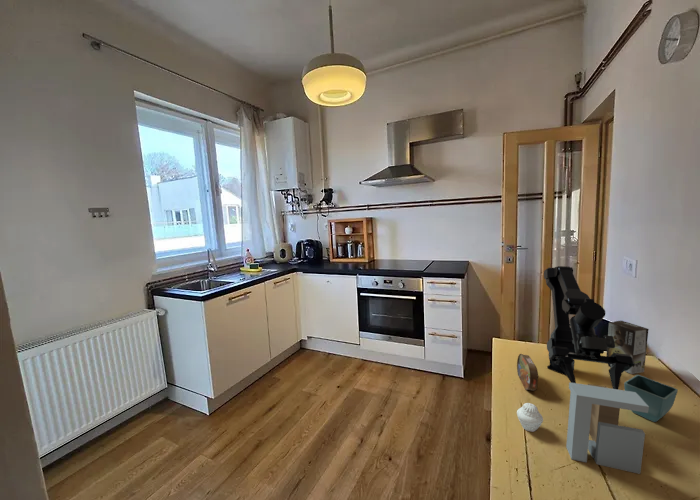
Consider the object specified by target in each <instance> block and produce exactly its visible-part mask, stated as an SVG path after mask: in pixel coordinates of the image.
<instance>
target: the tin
mask: <svg viewBox="0 0 700 500" xmlns="http://www.w3.org/2000/svg"><path fill="white" fill-rule="evenodd" d="M516 362H517V363H516V369H517V372H516V373H517V376H518V378H519V380H520V382H521V384H522V386H523V387H524V389H525V390H526V391H533V392H534V391H536V390H537V388H538V381H539V372H538V368H537V365H536V364H535V363H534V361H533V360H532V358H531V356H530V355H527V354H524V353H519V354H518V357H517V361H516Z"/></svg>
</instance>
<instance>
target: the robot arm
mask: <svg viewBox="0 0 700 500" xmlns="http://www.w3.org/2000/svg"><path fill="white" fill-rule="evenodd" d="M543 278H544V280H545V283H546V284H545V285H546V286H547V287H548V289H550V290H551V298H552V308H553V318H554V319H553V320H554V329H553V331H552V332H551V334H550V337H549V339H548V341H547V343H546V350H547V352H548V359H549V365H547V366H546V367H547V369H548V370H552V371H554V372H557V373H559V374H562V375H565V376H566V377H567V378H568V380H569V381H570V382H571V383H577V381H576V377H575V372H574V371H575V360H576V361H583V362H591V363H601V364H606V365H608V366H607V367H608V368H609V369H608V375H609V379H610V382H611V386H612V387H611V388H612V389H618V390H620V388H619V387H620V383H621V382H620V381H621V376H622V375H623V373H624V372H626V371H627V370H628V369H630V368H631V367H632V366H634V365H635V363H634V360H633V358H632V357H631V356H630V355H628V354H619V353H613V354H612V355H611V356H610V357H607V356H606V355H602V354H604V353H605V352H607V348H615V341H614V338H613V336H608V335H607V334H606V335H603V336H602V337H599V335H598V334H596V329H595V328H596V327H597V326H598V325H599V324H600V323H601V322H602V320H603V319H604V317H605V316H606V310H605V308H604V307H603V306H601V305H600V304H599V303H597V302H595V299H594V298H591V297H590V296H589V294H587V293H586V292H583V291H582V290H581V289H580V286H579V284H578V281H577V280H576V277H575V274H574V269H573V267H572V266H568V265H567V266H564V265H558V266H554V267H547V268H546V269H544V271H543ZM570 315H572V317H570Z"/></svg>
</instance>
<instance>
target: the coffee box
mask: <svg viewBox="0 0 700 500" xmlns="http://www.w3.org/2000/svg"><path fill="white" fill-rule="evenodd" d="M649 330H650V329H649V328H647V327H644V326H640V325H637V324H634V323H631V322H628V321H624V320H615V321H611V322H610V321H609V322H608V332H607V336H613V338H614V341H615V348H607V351H606V355H605V356H607V357H610V356H611V355H612V354H613V353H619V354H628V355H630V356H631V357H632V358H633V360H634V363H635V365H634V366H632V367H631V368H630V369H628V370H627V371H625V372H626V373H628V374H631V375H636V374H641V373H644V372H645V367H646V356H647V347H648V337H649Z"/></svg>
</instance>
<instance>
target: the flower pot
mask: <svg viewBox="0 0 700 500" xmlns="http://www.w3.org/2000/svg"><path fill="white" fill-rule="evenodd" d="M623 384H624V391H631V392H636V393H637V394H638V395H639V396H640V397H641V399H642V400H643V401H644V402H645V403H646V404H647V405H648V406H649V410H648V413H645V412H639V411H633V410H630V411H631V412H632V413H634V414H635V415H638V416H640V417H642V418H645V419H646V420H649V421H651V422H653V423H656V422H658V421H659V420H661V419H662V418H663V417H664V416H665V415H666V414H668V413H669V412H670V410H671V409H672V408H673V406H674V403H675V401H676V396H677V394H678V390H679V389H677V388H675V387H673V386H671V385H667V384H664V383H661V382H659V381H656V380H654V379H651V378H648V377H646V376H643V375H640V374H635V375H634V376H633V377H631V378H630V379H628V380H626V381H624V383H623Z"/></svg>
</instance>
